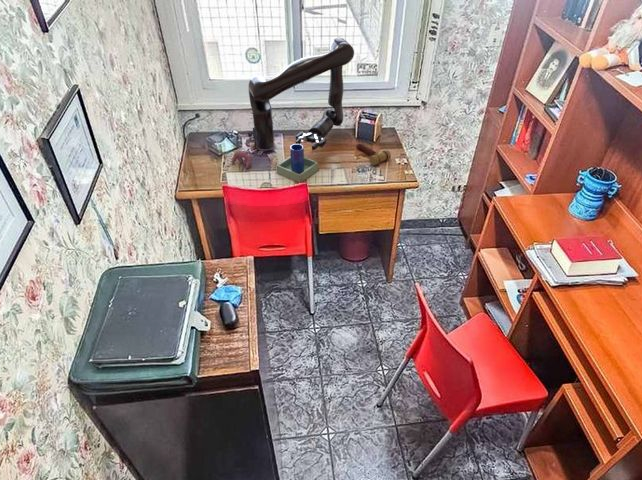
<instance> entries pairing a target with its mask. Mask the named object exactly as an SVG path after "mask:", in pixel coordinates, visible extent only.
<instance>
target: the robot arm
mask: <svg viewBox="0 0 642 480" xmlns="http://www.w3.org/2000/svg"><path fill="white" fill-rule="evenodd" d="M354 56H355V49H354V48H353V46H352V45H351V44H350V43H349V42H348V41H347V40H346V39H344V38H343V37H336V38H334V39H333V40H332V41H331V44H330V46H329V52H327V53H324V54H320V55H312V56H305V57H301V58H300V59H297V60H295V61H293V62H292V63H290V64H289V65H288V66H286V67H285V68H284V69H283V70H282V72H281V73H280V74H279V75H277V76H275V77H273V78H271V79H268V80H267V79H266V78H265V77H264V76H261V75H254V76H252V77H251V78H250V79H249V81H248V85H247V86H248V96H249V103H250V108H251V112H252V113H251V114H252V120H253V127H252V132H247V134H248V135H249V136H250V137H252V136H253V137H252V138H253V143H254V147H255V148H256V149H257V150H258V151H261V152H269V151H272V150H274V149H275V146H276V145H275V141H276V140H275V135H274V123H273V122H274V119H273V108H272V105H271V101H270V100H272V99H273V98H275V97H277V96H278V95H280V94H282V93H284V92H285V91H287V90H290V89H292V88H294V87H296V86H298V85H301V84H303V83H305V82H308V81H309V80H311V79H314V78H315V77H317V76H319V75H322V74H323V73H326V72H328V71H330V72H329V73H330V74H329V75H330V77H329V88H328V89H329V90H328V99H327V103H328V105H329V106H330V107H331V108H326V109H325V110H324V111H323V113H322V116H321V118H320V119H319V120H318V121H316V123H315V124H313V125H312V126H311V127H310V129H308V132H304V130H301V131H300V132H298V133H297V134H296V135H295V143H294V144H301V143H305V144H306V143H311V144H312V145H311V151H315V150H317V148H319V147H320V148H321V149H322V148H324V146H325V145H326V144H327V137H326V136H327V135H328V133H329V132H330V131H331V130H332V129H333V128H334V126H335V127H340V126H341V125H342V124H343V123H344V110H343V97H344V75H343V66H345V65H348V64H349V63H350V62H352V60H353V58H354Z"/></svg>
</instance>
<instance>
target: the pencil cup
mask: <svg viewBox="0 0 642 480" xmlns="http://www.w3.org/2000/svg"><path fill="white" fill-rule="evenodd" d="M304 149H305V148H304V145H302V144H301V143H300V144H295V143H293V144H291V145H289V153H290V155H289V156H291V171H293V172H295V173H298V174H301V173H302V172H304V157H305V150H304Z"/></svg>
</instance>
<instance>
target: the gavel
mask: <svg viewBox="0 0 642 480" xmlns="http://www.w3.org/2000/svg"><path fill="white" fill-rule="evenodd" d="M355 146H356V147H357V148H358V149H359V150H360V151H362V152H364V153H366V154H368V155H369V162H370V164H371V165H372V166H376V165H378V164H379V163H382V162H385V161H388V160H390V159H391V158H392V154H391V152H390V151H389V149H386V150H383V151H382V152H380V153H378V152H377V151H376V150H373V149H371V148H370V147H368V146H366V145H364V144H362V143H355Z"/></svg>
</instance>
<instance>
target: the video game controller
mask: <svg viewBox="0 0 642 480" xmlns="http://www.w3.org/2000/svg"><path fill="white" fill-rule="evenodd" d="M233 153H234V154H233V156H232V158H231V165H234V164H235V163H237V162H238V163H240V164H242V163H243V164H244V165H245V168H246V169H249V168H250V167H251V165H252V162H253V160H254V156H253V154H250V153H249V152H248V151H246V150H237V151H235V152H233Z"/></svg>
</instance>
